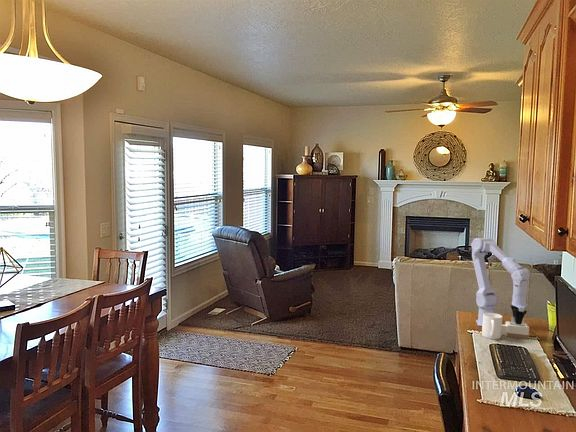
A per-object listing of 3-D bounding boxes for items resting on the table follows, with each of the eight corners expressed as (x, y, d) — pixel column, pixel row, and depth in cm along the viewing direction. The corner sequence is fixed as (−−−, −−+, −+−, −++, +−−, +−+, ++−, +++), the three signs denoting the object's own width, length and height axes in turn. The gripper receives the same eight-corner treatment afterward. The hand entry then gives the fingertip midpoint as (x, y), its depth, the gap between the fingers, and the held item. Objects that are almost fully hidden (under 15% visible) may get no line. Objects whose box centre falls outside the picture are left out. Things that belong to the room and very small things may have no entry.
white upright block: (510, 330, 225) (511, 316, 224) (522, 331, 224) (523, 317, 223) (511, 331, 223) (512, 317, 222) (523, 332, 222) (524, 318, 221)
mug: (502, 343, 212) (504, 321, 211) (482, 340, 215) (484, 318, 214) (500, 335, 223) (501, 314, 222) (481, 332, 226) (482, 311, 225)
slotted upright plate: (483, 330, 230) (484, 319, 230) (525, 334, 226) (526, 323, 225) (485, 334, 224) (486, 323, 223) (528, 339, 219) (529, 327, 218)
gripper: (532, 298, 214) (530, 328, 215) (525, 291, 228) (523, 319, 229) (515, 297, 216) (513, 326, 217) (509, 290, 229) (507, 317, 231)
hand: (517, 322), depth 223 cm, fingers open, 4 cm apart
